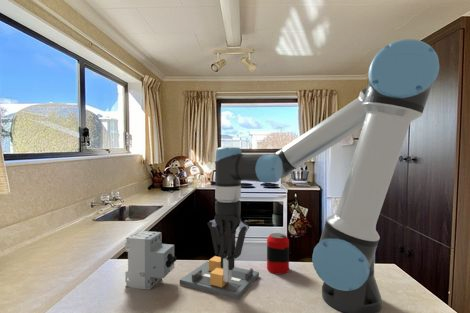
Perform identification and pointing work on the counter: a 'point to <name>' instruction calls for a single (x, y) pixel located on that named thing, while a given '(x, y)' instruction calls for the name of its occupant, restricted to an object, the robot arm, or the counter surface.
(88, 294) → the counter surface
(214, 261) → the tab
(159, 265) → the circuit breaker
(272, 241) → the soda can
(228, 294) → the switch board
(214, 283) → the tab
